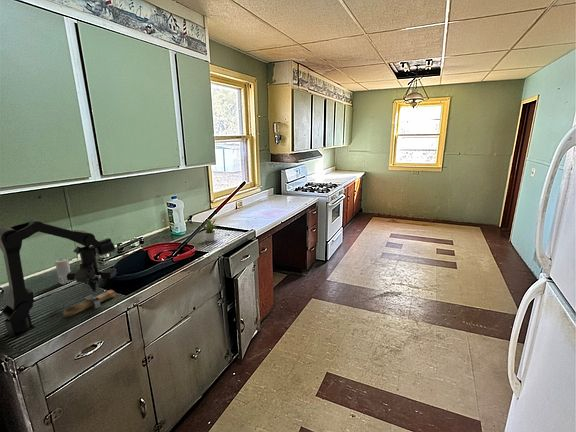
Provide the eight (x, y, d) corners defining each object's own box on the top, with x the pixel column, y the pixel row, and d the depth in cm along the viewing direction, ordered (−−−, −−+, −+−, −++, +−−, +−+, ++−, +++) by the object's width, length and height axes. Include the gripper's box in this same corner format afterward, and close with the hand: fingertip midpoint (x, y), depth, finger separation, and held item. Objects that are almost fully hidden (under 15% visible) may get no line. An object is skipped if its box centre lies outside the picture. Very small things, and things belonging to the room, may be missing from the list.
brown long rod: (67, 318, 120) (65, 312, 119) (62, 315, 122) (60, 309, 121) (115, 295, 137) (114, 290, 136) (110, 293, 139) (109, 288, 138)
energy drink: (70, 278, 155) (66, 257, 152) (74, 281, 151) (69, 259, 148) (58, 282, 151) (53, 260, 148) (61, 285, 148) (56, 263, 144)
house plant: (212, 234, 221) (210, 213, 217) (225, 238, 213) (224, 216, 209) (196, 240, 210) (194, 218, 205) (210, 244, 202) (208, 221, 198)
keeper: (95, 309, 127) (93, 301, 126) (87, 304, 131) (85, 297, 130) (101, 306, 129) (99, 298, 128) (92, 302, 133) (91, 294, 132)
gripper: (54, 267, 123) (61, 301, 127) (101, 266, 124) (107, 300, 128) (71, 257, 134) (78, 288, 138) (114, 256, 135) (119, 287, 139)
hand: (95, 291), depth 135 cm, fingers closed
